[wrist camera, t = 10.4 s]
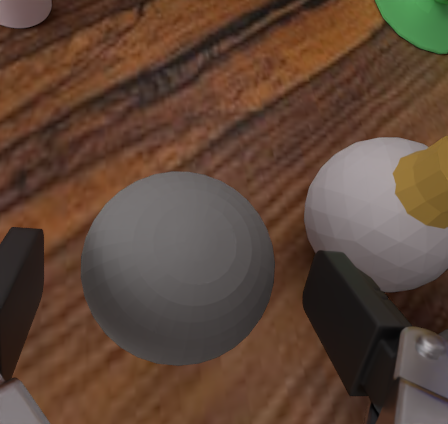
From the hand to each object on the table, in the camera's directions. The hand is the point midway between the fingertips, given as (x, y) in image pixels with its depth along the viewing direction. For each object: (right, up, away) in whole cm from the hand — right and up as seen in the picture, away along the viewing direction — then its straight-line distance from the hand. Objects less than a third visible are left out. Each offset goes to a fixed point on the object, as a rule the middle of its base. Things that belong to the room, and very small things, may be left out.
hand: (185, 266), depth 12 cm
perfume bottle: (+8, +1, +12) cm, 14 cm away
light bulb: (-2, -2, +8) cm, 8 cm away
